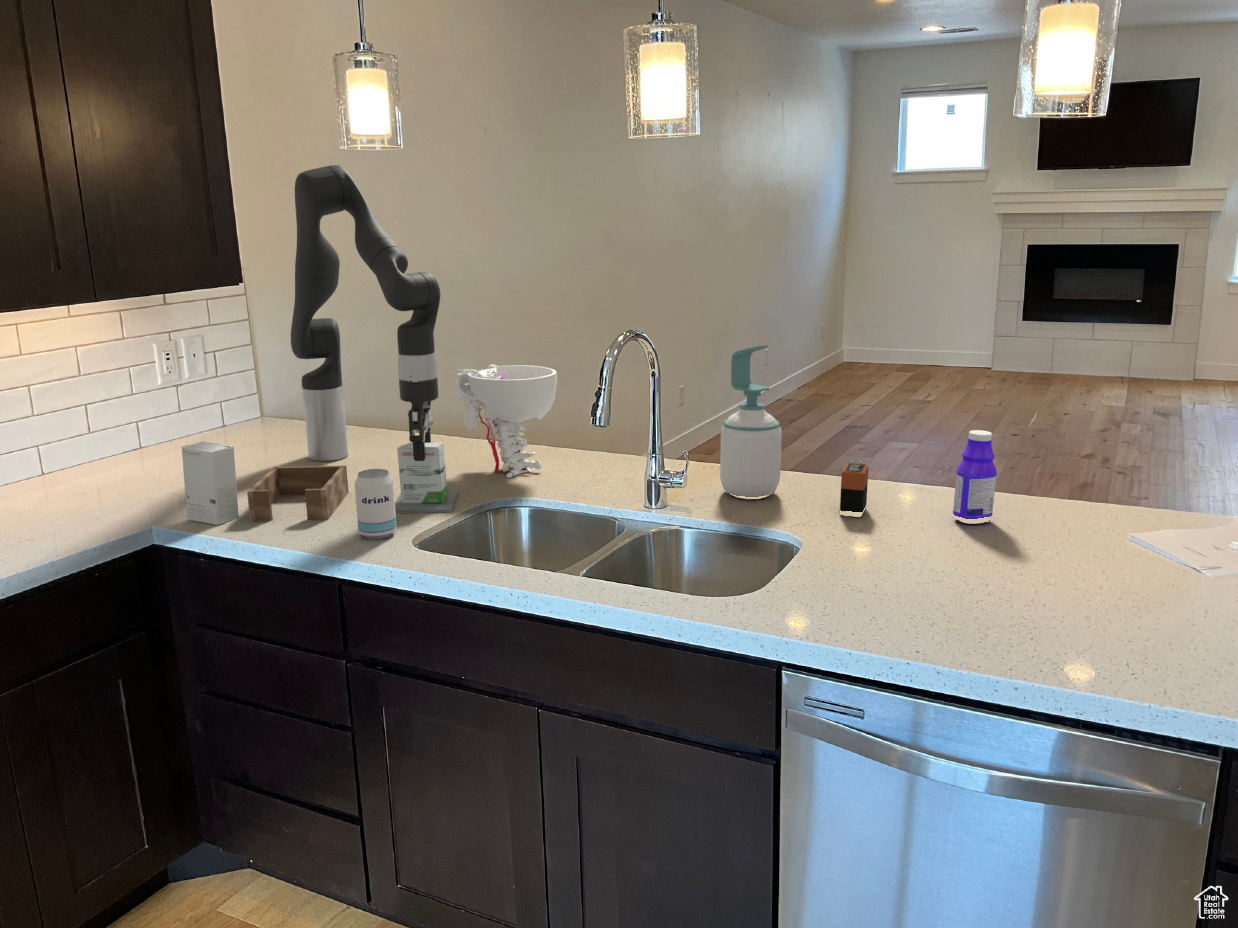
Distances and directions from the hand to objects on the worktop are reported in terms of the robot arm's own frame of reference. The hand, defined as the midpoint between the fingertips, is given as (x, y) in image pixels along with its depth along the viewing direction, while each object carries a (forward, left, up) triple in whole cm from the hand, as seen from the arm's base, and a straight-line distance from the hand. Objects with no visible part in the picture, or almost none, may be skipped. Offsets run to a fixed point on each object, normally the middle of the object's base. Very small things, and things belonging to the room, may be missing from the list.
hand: (422, 454), depth 201 cm
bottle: (+19, +106, -11) cm, 108 cm away
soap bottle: (-2, +67, -11) cm, 68 cm away
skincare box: (+7, -40, -11) cm, 42 cm away
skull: (-24, +15, -10) cm, 30 cm away
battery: (+12, +85, -11) cm, 86 cm away
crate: (0, -25, -10) cm, 27 cm away
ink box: (0, 0, -10) cm, 10 cm away
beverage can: (+19, -6, -11) cm, 23 cm away
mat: (0, 0, -10) cm, 10 cm away
